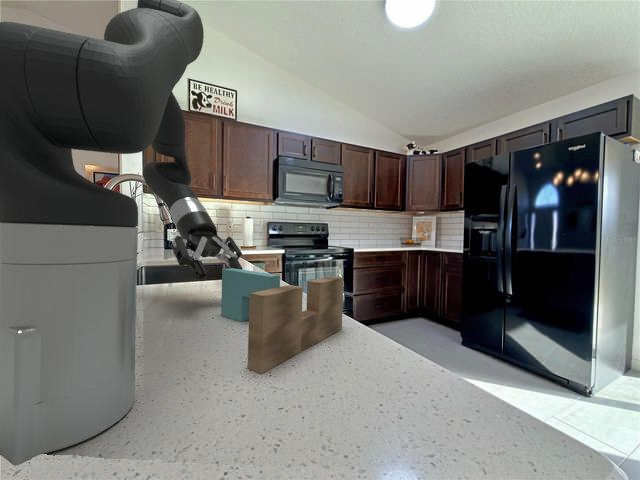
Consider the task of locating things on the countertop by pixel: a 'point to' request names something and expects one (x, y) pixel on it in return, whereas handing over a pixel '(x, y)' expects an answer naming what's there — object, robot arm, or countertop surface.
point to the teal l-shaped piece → (243, 290)
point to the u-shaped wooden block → (292, 320)
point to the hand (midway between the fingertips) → (223, 276)
